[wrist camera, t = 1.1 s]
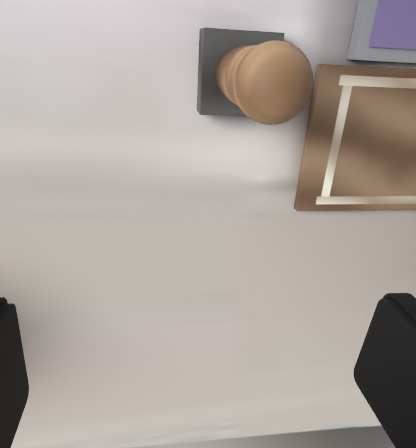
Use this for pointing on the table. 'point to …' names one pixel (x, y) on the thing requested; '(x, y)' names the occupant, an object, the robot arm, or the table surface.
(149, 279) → the table surface
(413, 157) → the marked board
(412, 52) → the ink pad
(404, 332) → the robot arm
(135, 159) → the table surface
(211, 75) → the stamp
